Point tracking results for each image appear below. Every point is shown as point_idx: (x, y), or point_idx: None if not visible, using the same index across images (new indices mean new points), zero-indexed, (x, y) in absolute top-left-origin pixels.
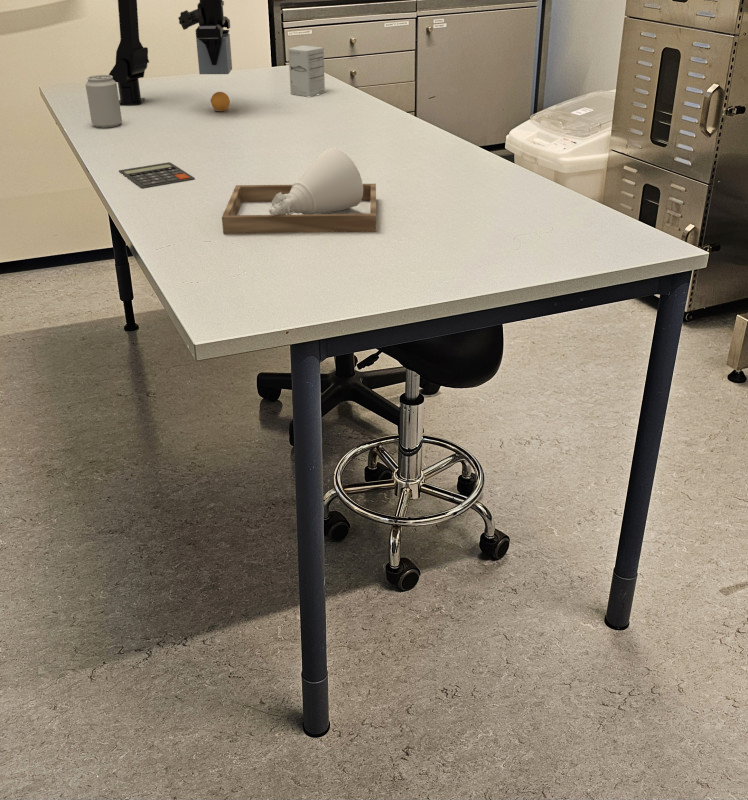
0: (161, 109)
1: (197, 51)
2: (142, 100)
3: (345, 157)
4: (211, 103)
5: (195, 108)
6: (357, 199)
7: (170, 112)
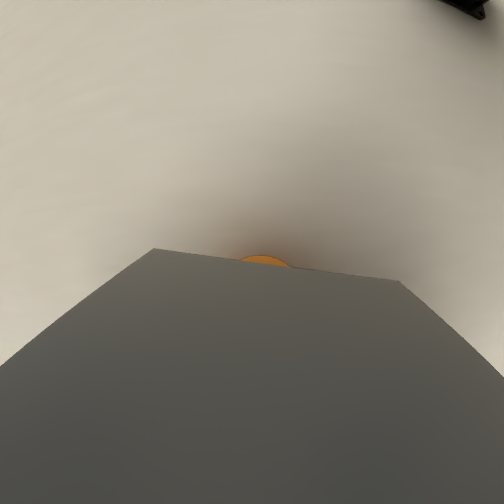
0: (343, 40)
1: (38, 338)
2: (455, 4)
3: None
4: (245, 258)
5: (340, 174)
6: None
7: (280, 70)
